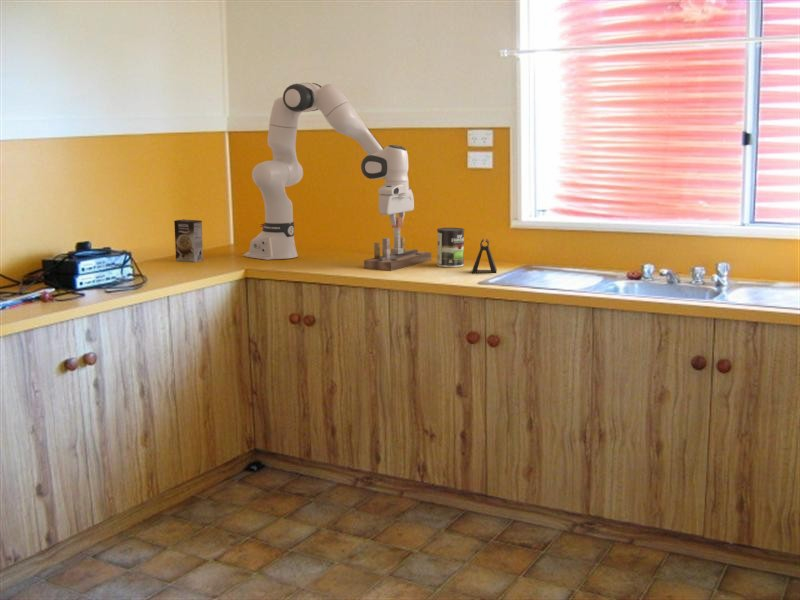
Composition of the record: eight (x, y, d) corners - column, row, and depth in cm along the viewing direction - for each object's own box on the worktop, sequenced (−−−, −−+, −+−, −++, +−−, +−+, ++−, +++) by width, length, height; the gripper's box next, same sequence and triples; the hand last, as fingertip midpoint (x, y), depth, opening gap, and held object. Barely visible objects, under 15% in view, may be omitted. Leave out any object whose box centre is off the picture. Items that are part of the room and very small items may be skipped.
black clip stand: (496, 271, 364) (497, 238, 362) (496, 273, 358) (496, 241, 356) (472, 270, 365) (472, 238, 363) (471, 273, 359) (471, 240, 357)
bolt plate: (364, 268, 371) (364, 239, 369) (405, 257, 396) (405, 230, 394) (391, 270, 365) (391, 241, 363) (431, 260, 390) (431, 232, 388)
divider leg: (391, 253, 378) (390, 217, 375) (396, 252, 381) (396, 216, 379) (398, 254, 376) (397, 217, 374) (403, 252, 380) (403, 216, 377)
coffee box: (175, 261, 389) (173, 220, 386) (184, 258, 395) (182, 218, 392) (194, 262, 386) (193, 221, 383) (203, 260, 392) (202, 219, 389)
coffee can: (469, 265, 376) (469, 229, 373) (450, 268, 370) (450, 231, 367) (450, 262, 384) (451, 226, 381) (431, 265, 377) (431, 228, 374)
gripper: (404, 186, 384) (404, 221, 387) (375, 190, 367) (375, 226, 370) (418, 186, 381) (418, 222, 384) (389, 190, 364) (390, 227, 367)
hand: (397, 224), depth 377 cm, fingers closed on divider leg, 3 cm apart
